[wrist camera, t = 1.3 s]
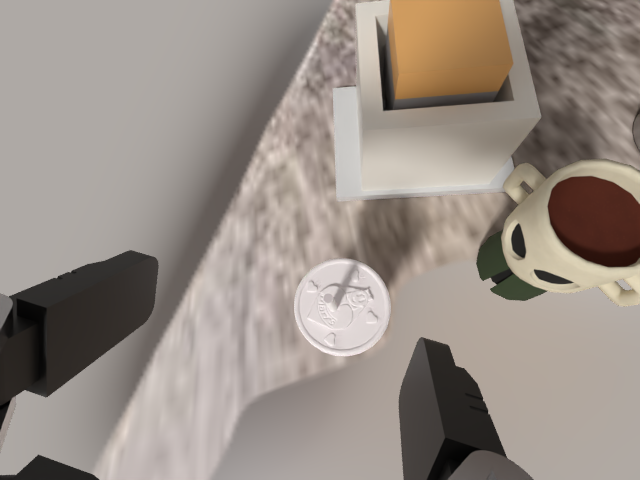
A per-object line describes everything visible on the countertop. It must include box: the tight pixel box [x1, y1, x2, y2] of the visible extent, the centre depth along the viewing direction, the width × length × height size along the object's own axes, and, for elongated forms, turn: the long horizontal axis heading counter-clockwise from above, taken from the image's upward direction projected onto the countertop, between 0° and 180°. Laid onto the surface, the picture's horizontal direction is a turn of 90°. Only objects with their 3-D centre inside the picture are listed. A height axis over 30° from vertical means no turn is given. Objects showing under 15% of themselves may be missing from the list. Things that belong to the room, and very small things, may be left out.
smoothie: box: [294, 258, 391, 356], centre depth 25 cm, size 6×6×14 cm
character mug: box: [476, 159, 640, 307], centre depth 26 cm, size 11×7×13 cm, turn 34°
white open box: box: [333, 0, 541, 201], centre depth 31 cm, size 17×13×11 cm
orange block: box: [383, 0, 514, 111], centre depth 27 cm, size 7×7×8 cm
